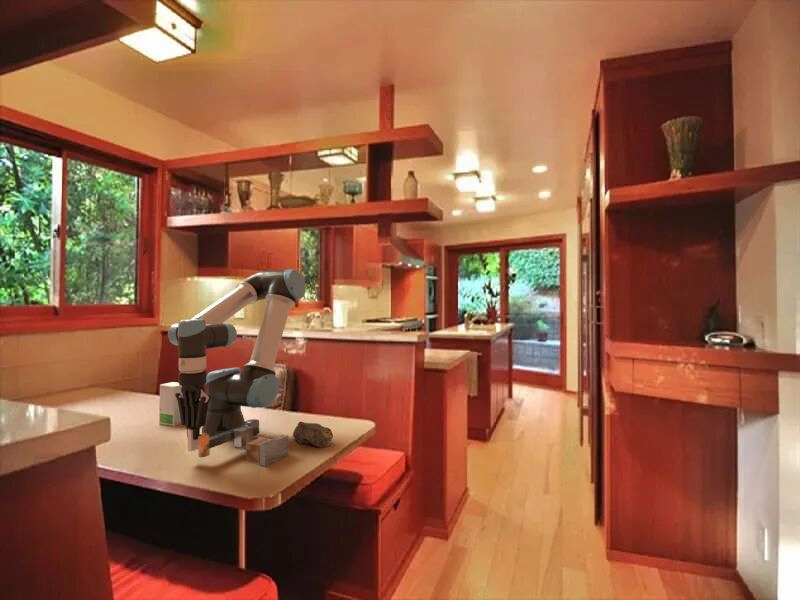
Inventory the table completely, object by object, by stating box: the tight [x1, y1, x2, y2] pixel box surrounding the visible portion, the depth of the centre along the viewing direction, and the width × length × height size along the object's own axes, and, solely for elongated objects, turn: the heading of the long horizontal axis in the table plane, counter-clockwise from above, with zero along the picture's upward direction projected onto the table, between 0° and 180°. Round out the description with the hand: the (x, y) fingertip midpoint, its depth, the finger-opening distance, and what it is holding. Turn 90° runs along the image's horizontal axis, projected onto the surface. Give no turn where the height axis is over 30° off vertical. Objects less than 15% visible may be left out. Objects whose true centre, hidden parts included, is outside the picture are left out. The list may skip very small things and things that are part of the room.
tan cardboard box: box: [245, 436, 273, 463], centre depth 133 cm, size 5×6×5 cm
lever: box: [197, 418, 260, 458], centre depth 135 cm, size 7×23×6 cm, turn 154°
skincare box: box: [158, 381, 182, 427], centre depth 171 cm, size 8×7×16 cm
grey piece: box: [234, 433, 289, 467], centre depth 138 cm, size 21×16×6 cm
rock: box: [292, 421, 334, 449], centre depth 146 cm, size 17×7×10 cm
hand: (193, 449), depth 129 cm, fingers closed
